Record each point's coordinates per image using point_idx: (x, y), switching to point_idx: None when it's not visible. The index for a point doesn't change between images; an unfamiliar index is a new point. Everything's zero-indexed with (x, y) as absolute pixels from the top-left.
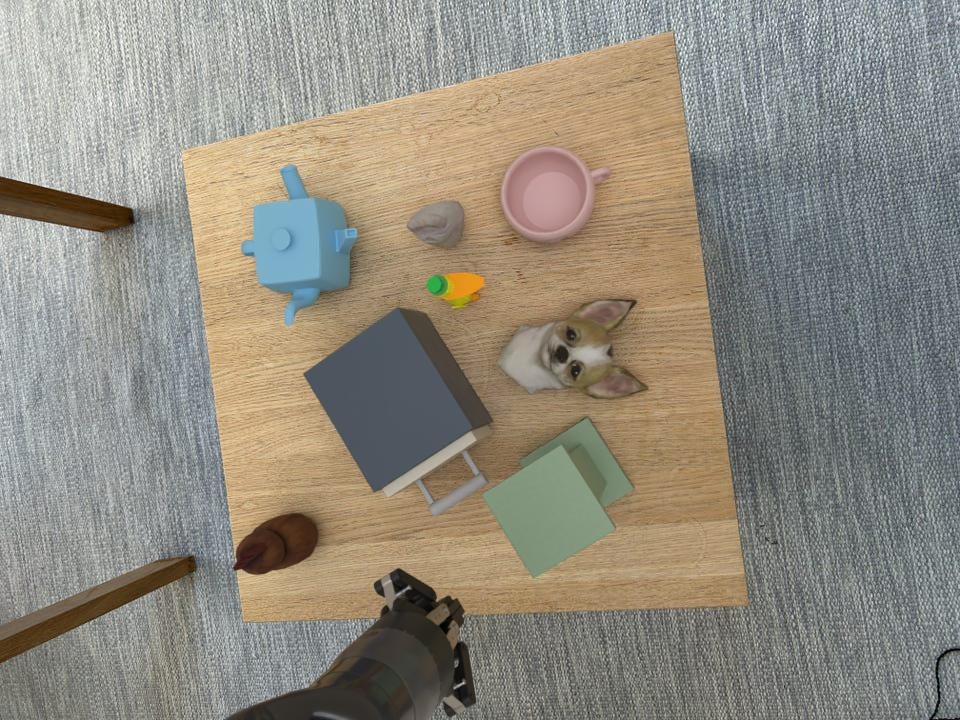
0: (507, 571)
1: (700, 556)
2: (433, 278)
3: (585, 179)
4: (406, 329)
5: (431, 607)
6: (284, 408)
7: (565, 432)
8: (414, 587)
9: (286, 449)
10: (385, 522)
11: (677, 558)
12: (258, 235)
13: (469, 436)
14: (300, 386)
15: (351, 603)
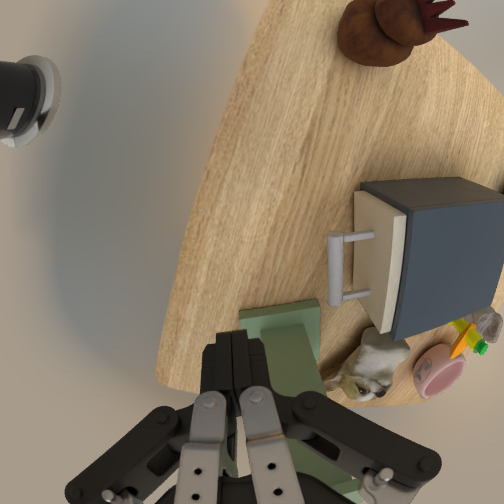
0: (219, 246)
1: (184, 377)
2: (485, 350)
3: (431, 396)
4: (479, 307)
5: (286, 436)
6: (459, 110)
7: (319, 345)
8: (358, 478)
9: (433, 85)
10: (328, 137)
11: (187, 367)
12: None
13: (387, 328)
14: (466, 136)
15: (254, 52)
